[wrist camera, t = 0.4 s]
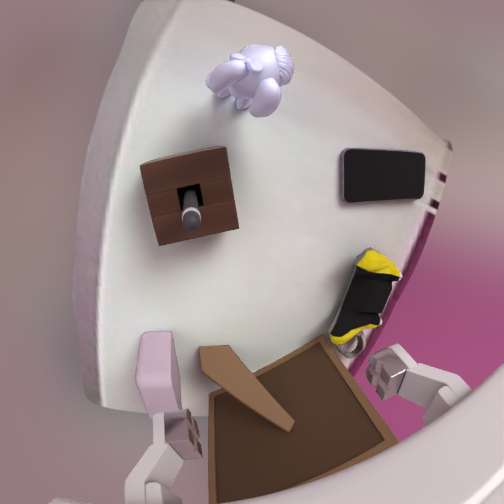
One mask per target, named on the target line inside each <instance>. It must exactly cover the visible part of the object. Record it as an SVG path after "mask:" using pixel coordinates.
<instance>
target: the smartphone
mask: <svg viewBox="0 0 504 504" xmlns="http://www.w3.org/2000/svg"><path fill="white" fill-rule="evenodd" d="M425 161H426V160H425V155H424V154H423V153H421V152H414V151H404V150H403V151H402V150H387V149H366V148H346V149H344V150H343V151H342V153H341V198H342V200H343V201H344V202H346V203H363V202H377V201H394V200H412V199H420V198H422V196H423V194H424V184H425Z"/></svg>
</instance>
